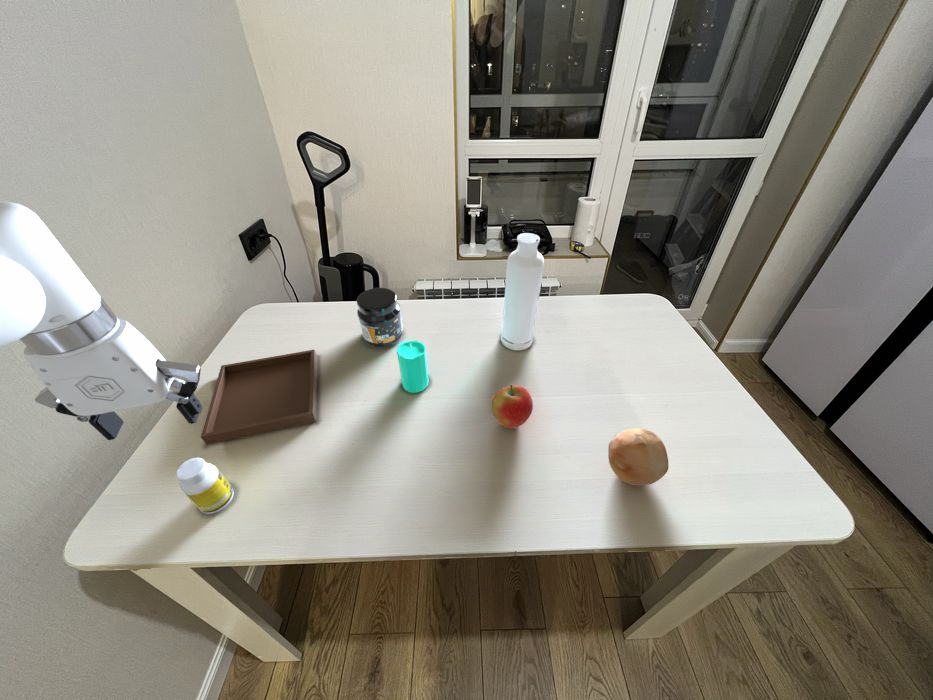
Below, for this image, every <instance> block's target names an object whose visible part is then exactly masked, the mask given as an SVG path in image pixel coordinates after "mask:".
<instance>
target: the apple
mask: <svg viewBox="0 0 933 700" xmlns="http://www.w3.org/2000/svg"><path fill="white" fill-rule="evenodd" d="M490 407H491V412H492V415H493V417H494V419H495V420H496V422H497V423H498V424H499V425H501V426H502V427H504V428H506V429H515V428H519V427H520V426H522V425H524V424H525V423H526V422H527V421H528V420H529V418H530V417H531V415H532V413H533V409H534V403H533V398H532V396H531V394H530V392H529V391H528V389H526V387H524V386H522V385H518V384H517V385H515V384H514V385H512V384H509V385H508V386H504V387H502V388H500V389H498V390H497V391H495V393H494V395H492V399H491V405H490Z"/></svg>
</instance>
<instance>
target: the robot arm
mask: <svg viewBox="0 0 933 700" xmlns="http://www.w3.org/2000/svg"><path fill="white" fill-rule="evenodd" d="M97 291H98V290H96V289H95V287H94V286H93V284H92V283H91V282H90V280H88V278H87V277H86V276H85V274H84V273H83V272H82V270H81V269H80V268H79V266H78V265H77V264H76V262H74V260H73V258H72V257H71V256H70V255H69V253H68V252H67V251H66V250H65V248H64V247H63V245H61V243H60V242H59V241H58V239H57V238H56V237H55V235H54V234H53V233H52V232H51V230H50V229H49V228H48V226H47V225H46V224H45V223H44V221H43V220H42V219H41V217H40V216H38V214H37V213H36V212H34V211H33V210H32V209H30V208H29V207H27V206H24V205H23V204H20V203H17V202H12V201H0V348H2V347H5V346H7V345H10V344H12V343H15V342H17V341H20V342H21V343H22V344H23V345H25V348H24V349H23V354H24V355H25V358H26V361H27V362H28V364H29V366H30V367H31V369H32V371H33V372H34V373H35V374H36V376H37V378H38V379H39V380H40V381H41V382H42V384H43V385H44V386H45V388H44V389H42V390H40V391H39V392H38V394H37V395H36V397H35V399H34V402H36V403H37V404H40V405H43V406H45V407H47V408H49V409H55V412H57V413H59V414H61V415H67V416H71V417H75V418H76V420H77V421H78V422H81V423H87V422H88V423H89V425H91V426H92V427H93V428H94V429H95V430H96V431H97V432H99V433H100V435H102V436H103V437H104V438H105V439H106V440H108V441H113V440H115V439H116V438H118V435H119V433H120V431H121V429H122V427H123V425H124V419H122V418H121V417H120V416H119V415H118V414H117V412H119V411H124V410H130V409H135V408H141V407H147V406H150V405H155V404H158V403H161V402H164V400H169V401H172V402H175V403H176V405H175V406H176V409H177V410H178V412H180V414H181V415H182V416H183V417H184V419H185V420H186V421H187V423H188V424H190V425H195V424H197V423H198V419H199V417H200V414H201V413H202V412H203V404H202V403H201V402H200V400H199V399H198V398H197V396H196V395H195V394H194V393H195V392H196V390H197V388H198V386H199V382H200V380H201V379H200V377H201V370H202V369H201V366H200V365H197V364H191V363H185V362H184V363H182V362H177V361H176V362H175V361H169V360H166V359H165V358H164V356H163V354H161V353H160V351H159V350H158V349H157V348H156V347H155V346H154V345H153V344H152V343H151V342H150V340H148V339H147V338H146V337H145V335H143V334H142V333H141V332H140V331H139V330H138V329H136V327H134V326H133V325H132V324H131V323H130V322H128V321H127V320H126V319H120V318H118V316H116V314H115V313H114V311H113V310H112V309H111V308H110V306H109V305H108V304H107V303H106V301H105V300H104V298H103V297H102V296H101V295H100V294H99V292H97ZM178 377H179V378H178ZM180 378H184V379H185V380H183V379H180ZM170 388H175V389H178V390H179V391H175V390H173V389H170Z"/></svg>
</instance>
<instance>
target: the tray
mask: <svg viewBox="0 0 933 700" xmlns="http://www.w3.org/2000/svg"><path fill="white" fill-rule="evenodd" d="M316 352H317V351H316V350H315V349H314V348H313V349H310V350H309V349H308V350H304V351H297V352H292V353H286V354H280V355H274V356H268V357H263V358H258V359H252V360H245V361H240V362H233V363H229V364H222V365H220V369H219V372H218V376H217V379H216V382H215V386H214V389H213V393H212V396H211V399H210V403H209V407H208V410H207V413H206V417H205V419H204V423H203V427H202V431H201V434H200V439H201V440H202V441H203V442H204V444H205V445H206V446H209V445H214V444H219V443H222V442H228V441H231V440H232V441H233V440H237V439H242V438H247V437H251V436H256V435H262V434H266V433H269V432H275V431H280V430H285V429H289V428H294V427H298V426H304V425H308V424H313V423H316V422H317V403H318V402H317V401H318V400H317V399H318V390H317V389H318V356H317V353H316Z"/></svg>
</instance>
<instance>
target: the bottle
mask: <svg viewBox="0 0 933 700" xmlns="http://www.w3.org/2000/svg"><path fill="white" fill-rule="evenodd" d="M540 240H541V238H540V236H539V235H538V234H535V233H530V232H523V233H520V234H518V235H517V236H516V241H517V243H518V244H517V246H516V249H515V250H514V251H512V252H511V253H509V255H508V257H507V260H506V261H507V262H506V273H505V284H504V285H505V287H504V296H503V297H504V299H503V309H502V310H503V311H502V324H501V336H500V341H501V343H502V345H503V346H504V347H506V348H507V349H510V350H511V351H512V350H513V351H523V350H527V349H528V348H530V347H532V344H533V341H534V340H533V339H534V334H535V327H536V320H537V313H538V308H539V307H538V306H539V300H540V294H541V287H542V281H543V274H544V267H545V259H544V256H543V255H542V254H541V252H539V250H538V248H539V247H538V246H539V244H540Z"/></svg>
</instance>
